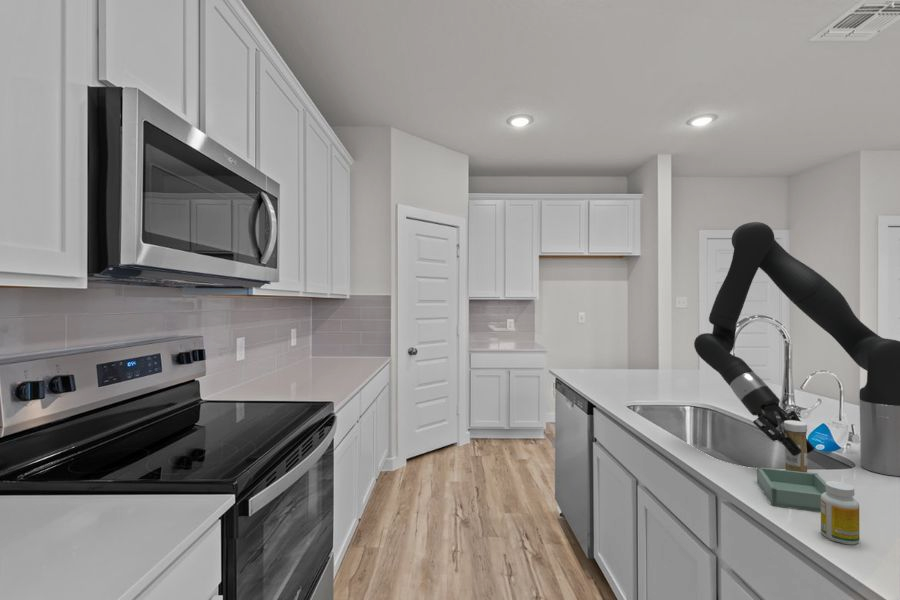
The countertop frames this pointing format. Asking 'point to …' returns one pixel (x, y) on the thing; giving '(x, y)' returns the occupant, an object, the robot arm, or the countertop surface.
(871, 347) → the robot arm
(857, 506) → the supplement bottle
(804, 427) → the amber pill bottle
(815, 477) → the bin
